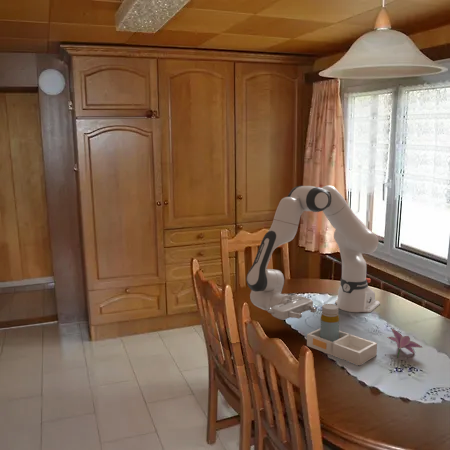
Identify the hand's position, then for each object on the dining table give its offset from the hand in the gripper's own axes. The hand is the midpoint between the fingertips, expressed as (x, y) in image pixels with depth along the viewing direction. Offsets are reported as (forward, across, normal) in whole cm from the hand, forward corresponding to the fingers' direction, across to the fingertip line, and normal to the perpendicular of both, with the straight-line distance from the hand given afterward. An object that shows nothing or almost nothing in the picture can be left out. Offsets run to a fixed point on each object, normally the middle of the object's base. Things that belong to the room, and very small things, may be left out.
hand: (308, 313), depth 190 cm
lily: (+34, +14, +11) cm, 38 cm away
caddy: (+16, 0, +10) cm, 19 cm away
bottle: (+10, 0, +10) cm, 14 cm away
